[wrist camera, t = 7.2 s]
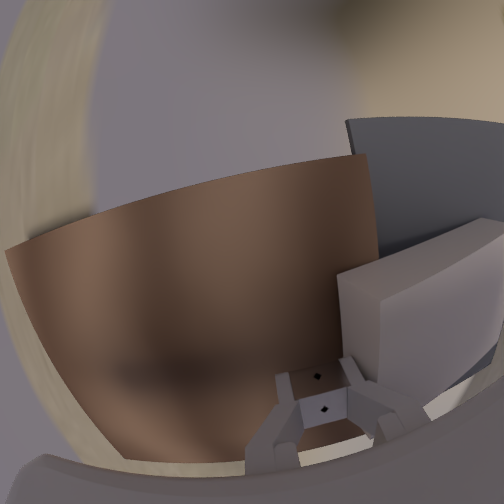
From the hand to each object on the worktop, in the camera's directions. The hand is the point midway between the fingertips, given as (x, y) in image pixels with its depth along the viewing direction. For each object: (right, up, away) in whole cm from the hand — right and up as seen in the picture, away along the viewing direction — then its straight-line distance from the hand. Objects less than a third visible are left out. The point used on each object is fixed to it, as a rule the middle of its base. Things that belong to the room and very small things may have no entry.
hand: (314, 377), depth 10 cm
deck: (-5, 0, +3) cm, 6 cm away
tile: (+6, +2, +1) cm, 7 cm away
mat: (+9, +3, +3) cm, 10 cm away
